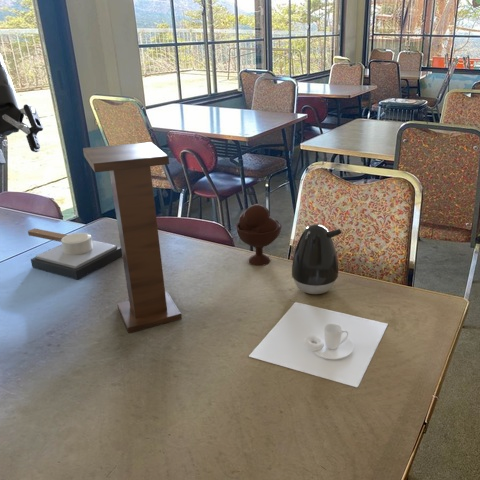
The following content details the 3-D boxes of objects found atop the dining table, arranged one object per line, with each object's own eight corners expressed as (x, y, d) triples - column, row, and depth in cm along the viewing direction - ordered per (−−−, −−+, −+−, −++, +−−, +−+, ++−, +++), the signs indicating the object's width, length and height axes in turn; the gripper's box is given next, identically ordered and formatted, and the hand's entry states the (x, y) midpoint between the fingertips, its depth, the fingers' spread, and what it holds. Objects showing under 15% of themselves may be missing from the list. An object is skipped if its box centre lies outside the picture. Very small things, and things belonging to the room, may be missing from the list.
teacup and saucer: (299, 353, 85) (299, 334, 83) (315, 329, 92) (316, 311, 90) (345, 366, 82) (347, 346, 80) (359, 340, 89) (361, 322, 87)
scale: (30, 267, 112) (28, 256, 111) (79, 245, 124) (77, 234, 123) (77, 279, 107) (75, 268, 106) (123, 255, 119) (121, 244, 118)
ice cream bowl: (289, 263, 117) (289, 205, 111) (248, 274, 112) (246, 214, 105) (268, 248, 125) (268, 193, 119) (229, 257, 119) (226, 200, 113)
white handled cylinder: (22, 244, 116) (19, 233, 115) (44, 235, 122) (41, 224, 121) (78, 256, 111) (76, 245, 110) (99, 246, 117) (97, 234, 115)
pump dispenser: (339, 301, 102) (342, 235, 96) (290, 299, 102) (290, 233, 96) (337, 278, 111) (340, 217, 105) (293, 277, 111) (293, 215, 105)
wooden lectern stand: (109, 301, 99) (82, 148, 86) (167, 287, 105) (150, 142, 92) (122, 334, 89) (94, 165, 76) (186, 317, 95) (170, 157, 82)
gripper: (34, 85, 114) (56, 150, 114) (-20, 106, 115) (1, 170, 115) (12, 75, 107) (36, 144, 107) (-46, 97, 107) (-22, 165, 107)
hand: (18, 157), depth 111 cm, fingers open, 8 cm apart
